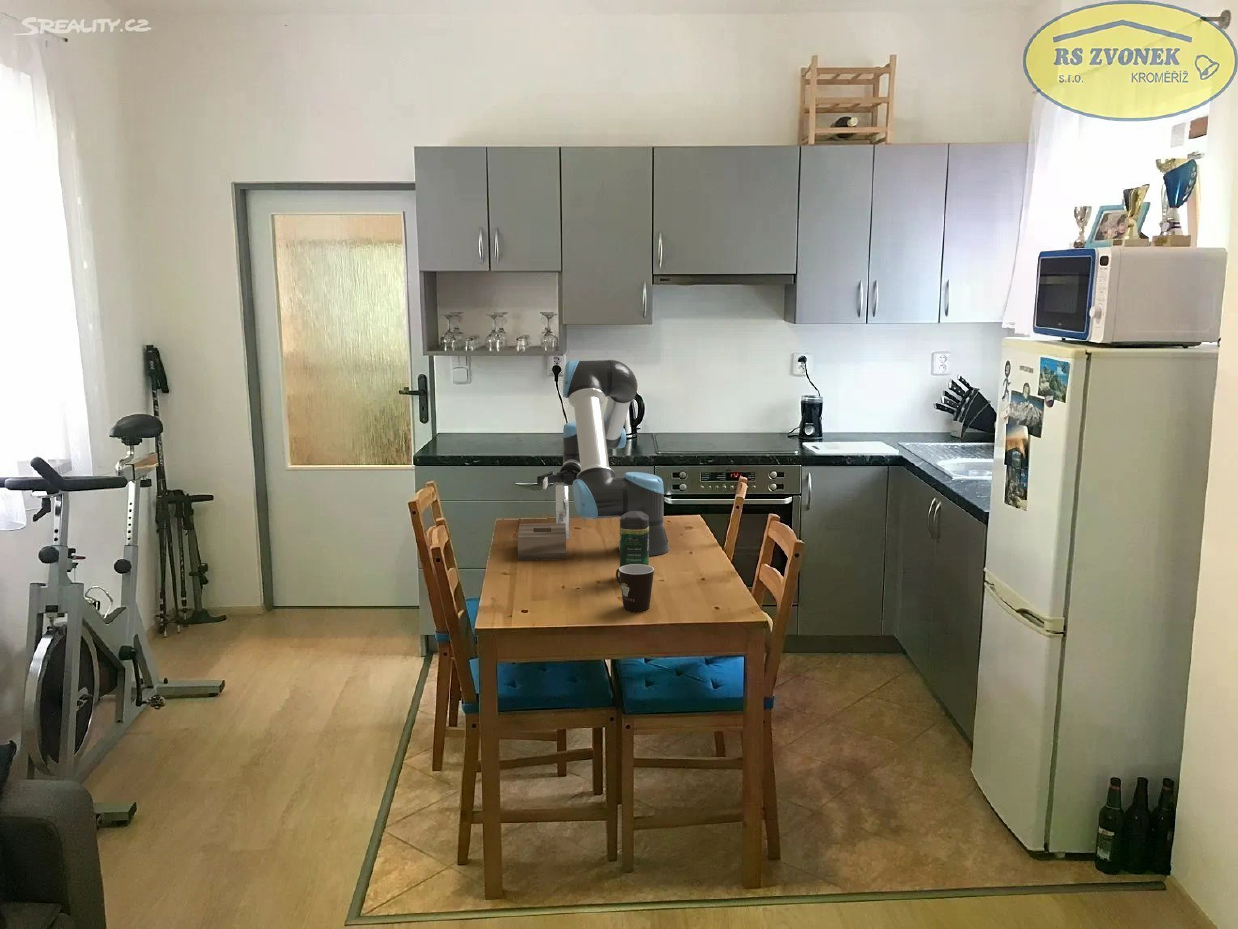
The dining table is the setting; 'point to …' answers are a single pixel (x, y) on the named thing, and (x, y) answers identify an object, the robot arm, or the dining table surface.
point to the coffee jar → (634, 538)
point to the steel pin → (562, 506)
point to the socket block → (542, 541)
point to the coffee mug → (635, 586)
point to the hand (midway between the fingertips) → (565, 485)
